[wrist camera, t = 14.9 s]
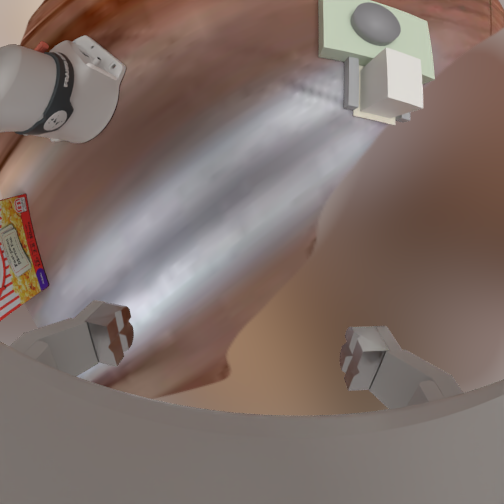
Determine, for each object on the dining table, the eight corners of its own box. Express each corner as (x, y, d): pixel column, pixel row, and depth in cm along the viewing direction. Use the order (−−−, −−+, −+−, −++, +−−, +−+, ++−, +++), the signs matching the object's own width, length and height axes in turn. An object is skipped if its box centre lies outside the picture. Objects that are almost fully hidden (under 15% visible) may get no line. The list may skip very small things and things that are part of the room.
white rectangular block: (389, 118, 33) (423, 108, 24) (360, 111, 33) (387, 97, 24) (389, 78, 31) (420, 59, 22) (360, 70, 31) (385, 47, 22)
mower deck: (422, 133, 34) (445, 131, 28) (316, 109, 34) (326, 99, 28) (416, 29, 27) (433, 16, 21) (318, 1, 28) (325, -20, 21)
